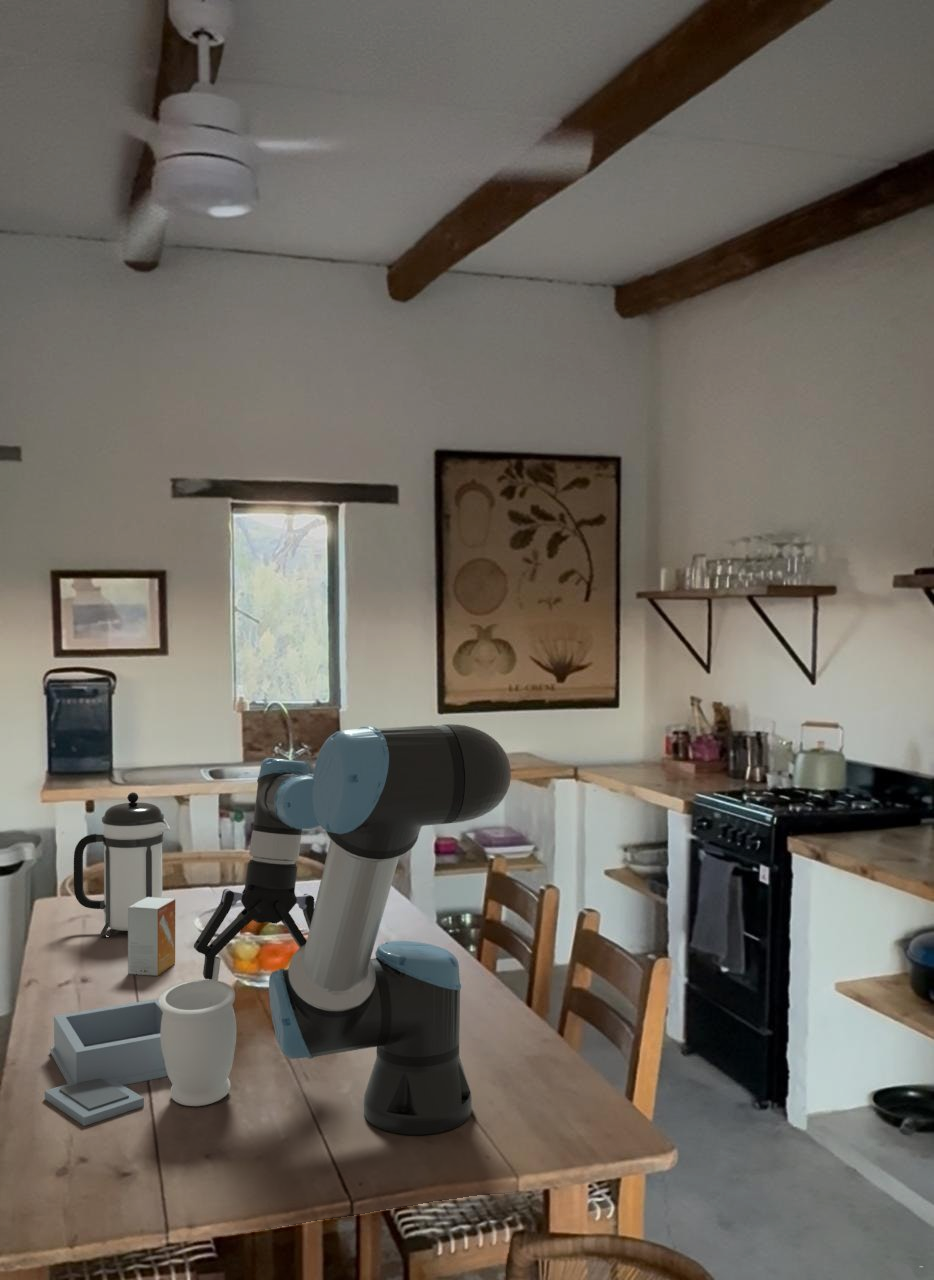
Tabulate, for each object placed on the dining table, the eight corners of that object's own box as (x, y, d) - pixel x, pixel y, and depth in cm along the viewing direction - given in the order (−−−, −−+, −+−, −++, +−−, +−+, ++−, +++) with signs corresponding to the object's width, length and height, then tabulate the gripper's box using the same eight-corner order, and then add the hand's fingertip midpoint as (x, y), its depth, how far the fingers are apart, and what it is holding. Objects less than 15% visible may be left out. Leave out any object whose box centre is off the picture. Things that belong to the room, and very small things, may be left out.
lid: (143, 1106, 166) (143, 1095, 166) (84, 1126, 160) (84, 1115, 160) (103, 1081, 175) (102, 1071, 174) (44, 1099, 168) (44, 1088, 168)
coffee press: (146, 916, 264) (146, 784, 263) (182, 931, 252) (181, 793, 251) (72, 931, 252) (71, 792, 251) (105, 947, 241) (104, 802, 240)
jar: (169, 1118, 163) (165, 1019, 160) (157, 1081, 172) (153, 986, 170) (245, 1102, 167) (242, 1004, 164) (229, 1066, 176) (226, 973, 174)
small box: (158, 976, 223) (157, 908, 222) (127, 974, 224) (126, 906, 223) (176, 963, 231) (176, 897, 230) (146, 961, 232) (146, 896, 231)
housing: (196, 1070, 179) (195, 1031, 178) (73, 1095, 170) (73, 1054, 169) (163, 1032, 194) (163, 996, 194) (50, 1052, 185) (50, 1015, 185)
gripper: (343, 863, 187) (327, 999, 185) (186, 851, 177) (167, 995, 175) (358, 868, 180) (342, 1010, 178) (196, 857, 171) (176, 1006, 168)
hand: (255, 1003), depth 176 cm, fingers open, 13 cm apart
